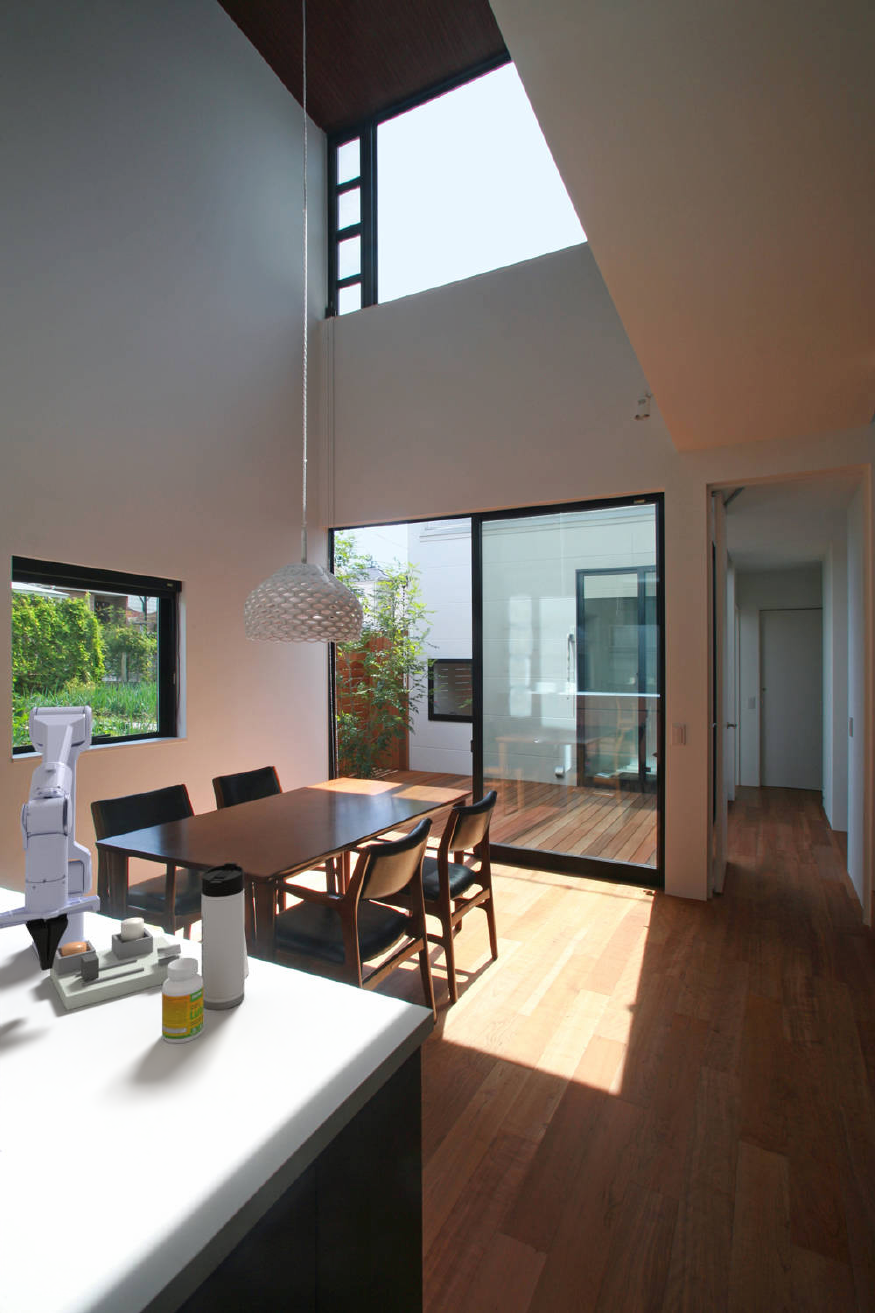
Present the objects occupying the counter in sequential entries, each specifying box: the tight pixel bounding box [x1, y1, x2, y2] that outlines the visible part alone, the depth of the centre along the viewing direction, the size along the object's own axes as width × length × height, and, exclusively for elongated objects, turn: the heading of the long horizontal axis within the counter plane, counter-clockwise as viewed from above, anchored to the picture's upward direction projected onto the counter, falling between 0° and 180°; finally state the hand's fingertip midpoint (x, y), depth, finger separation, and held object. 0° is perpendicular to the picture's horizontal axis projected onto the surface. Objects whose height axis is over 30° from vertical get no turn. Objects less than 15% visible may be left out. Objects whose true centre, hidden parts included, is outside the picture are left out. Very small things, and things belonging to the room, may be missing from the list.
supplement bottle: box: [161, 957, 204, 1044], centre depth 94 cm, size 5×5×10 cm
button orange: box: [62, 941, 86, 957], centre depth 112 cm, size 4×4×3 cm
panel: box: [49, 927, 184, 1011], centre depth 113 cm, size 15×18×5 cm
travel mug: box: [201, 862, 245, 1011], centre depth 104 cm, size 6×7×20 cm
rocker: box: [157, 943, 182, 957], centre depth 113 cm, size 4×3×1 cm, turn 38°
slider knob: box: [81, 953, 99, 981], centre depth 107 cm, size 3×2×3 cm
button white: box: [120, 917, 145, 943], centre depth 118 cm, size 4×4×3 cm
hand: (46, 967), depth 103 cm, fingers closed
